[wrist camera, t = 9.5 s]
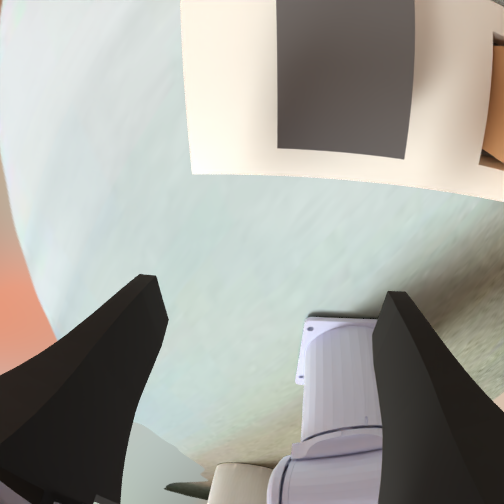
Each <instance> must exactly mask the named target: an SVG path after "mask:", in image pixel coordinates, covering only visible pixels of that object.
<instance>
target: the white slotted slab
mask: <svg viewBox="0 0 504 504" xmlns="http://www.w3.org/2000/svg"><path fill="white" fill-rule="evenodd" d="M180 8H181V36H182V56H183V73H184V88H185V101H186V114H187V126H188V137H189V147H190V158H191V167H192V174H244V175H276V176H297V177H313V178H328V179H341V180H353V181H364V182H374V183H383V184H392V185H401V186H409V187H417V188H424V189H431V190H438V191H445V192H451V193H457V194H463V195H469V196H475V197H481V198H486V199H491V200H497V201H502V202H504V163H502V162H501V161H500V160H498V159H497V158H495V157H494V156H492V155H491V154H489V153H488V152H486V151H485V150H483V149H482V145H483V140H484V134H485V128H486V122H487V115H488V107H489V99H490V89H491V77H492V60H493V46H504V7H503V6H501V5H499V4H497V3H495V2H493V1H491V0H180Z"/></svg>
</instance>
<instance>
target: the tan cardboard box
mask: <svg viewBox="0 0 504 504" xmlns="http://www.w3.org/2000/svg"><path fill="white" fill-rule="evenodd" d="M482 149H483V150H485V151H486V152H488V153H489V154H491V155H492V156H494V157H495V158H497V159H498V160H500V161H501V162H502V163H504V46H493V60H492V77H491V89H490V99H489V107H488V115H487V122H486V128H485V134H484V140H483V145H482Z"/></svg>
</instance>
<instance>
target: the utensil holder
mask: <svg viewBox="0 0 504 504" xmlns="http://www.w3.org/2000/svg"><path fill="white" fill-rule="evenodd" d="M272 471H273V469H270V468H267V467H262V466H257V465H251V464H242V463H222V464H219V465H217V467H216V470H215V474H214V478H213V482H212V486H211V490H210V494H209V498H208V503H207V504H267V488H268V483H269V479H270V476H271V474H272Z"/></svg>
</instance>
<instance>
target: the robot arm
mask: <svg viewBox="0 0 504 504" xmlns="http://www.w3.org/2000/svg"><path fill="white" fill-rule="evenodd" d="M168 320H169V319H168V316H167V312H166V309H165V306H164V302H163V299H162V295H161V292H160V288H159V284H158V281H157V277H156V276H153V275H143V274H139V275H138V276H137V277H135V278H134V279H133V280H132V281H130V282H129V283H128V284H127V285H126V286H124V287H123V288H122V289H121V290H120V291H118V292H117V293H116V294H115V295H114V296H113V297H111V298H110V299H109V300H108V301H107V302H106V303H104V304H103V305H102V306H101V307H100V308H99V309H97V310H96V311H95V312H94V313H93V314H92V315H90V316H89V317H88V318H87V319H85V320H84V321H83V322H82V323H80V324H79V325H78V326H77V327H75V328H74V329H73V330H72V331H70V332H69V333H68V334H67V335H65V336H64V337H63V338H61V339H60V340H58V341H57V342H56V343H54V344H53V345H51V346H50V347H48V348H47V349H45V350H44V351H42V352H41V353H39V354H38V355H36V356H34V357H33V358H31V359H29V360H28V361H26V362H24V363H23V364H21V365H19V366H17V367H16V368H14V369H12V370H10V371H8V372H6V373H4V374H2V375H0V504H93V503H94V502H97V503H99V504H120V500H121V498H120V497H121V486H122V476H123V469H124V462H125V456H126V451H127V446H128V441H129V436H130V431H131V428H132V423H133V420H134V416H135V412H136V409H137V406H138V403H139V400H140V397H141V395H142V392H143V390H144V387H145V385H146V383H147V380H148V378H149V375H150V373H151V370H152V368H153V366H154V363H155V361H156V358H157V356H158V353H159V351H160V348H161V346H162V342H163V339H164V335H165V332H166V328H167V324H168ZM295 383H296V384H300V385H304V394H303V413H302V430H301V442H300V443H293V444H292V452H291V455H287V456H285V457H283V458H282V459H281V460H280V462H279V463H278V464H277V465H276V467H275V468H274V470H273V471H272V474H271V476H270V479H269V483H268V488H267V504H504V412H503V411H502V410H501V409H500V408H499V407H498V406H497V405H496V404H495V403H494V402H493V401H492V400H491V399H490V398H489V397H488V396H487V395H486V394H485V393H484V391H483V390H482V389H481V388H480V387H479V386H478V385H477V384H476V382H475V381H474V380H473V379H472V378H471V377H470V376H469V374H468V373H467V372H466V371H465V370H464V368H463V367H462V366H461V365H460V363H459V362H458V361H457V360H456V358H455V357H454V356H453V355H452V353H451V352H450V351H449V349H448V348H447V347H446V345H445V344H444V343H443V341H442V340H441V339H440V337H439V336H438V335H437V333H436V332H435V331H434V329H433V328H432V327H431V325H430V324H429V322H428V321H427V320H426V318H425V317H424V316H423V314H422V313H421V311H420V310H419V309H418V307H417V306H416V305H415V303H414V302H413V301H412V299H411V298H410V297H409V296H408V294H407V293H406V292H397V291H388V292H387V295H386V298H385V300H384V303H383V306H382V309H381V312H380V315H379V317H378V319H351V318H326V317H308V318H306V319H305V322H304V329H303V335H302V342H301V348H300V354H299V360H298V366H297V372H296V378H295Z"/></svg>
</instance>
